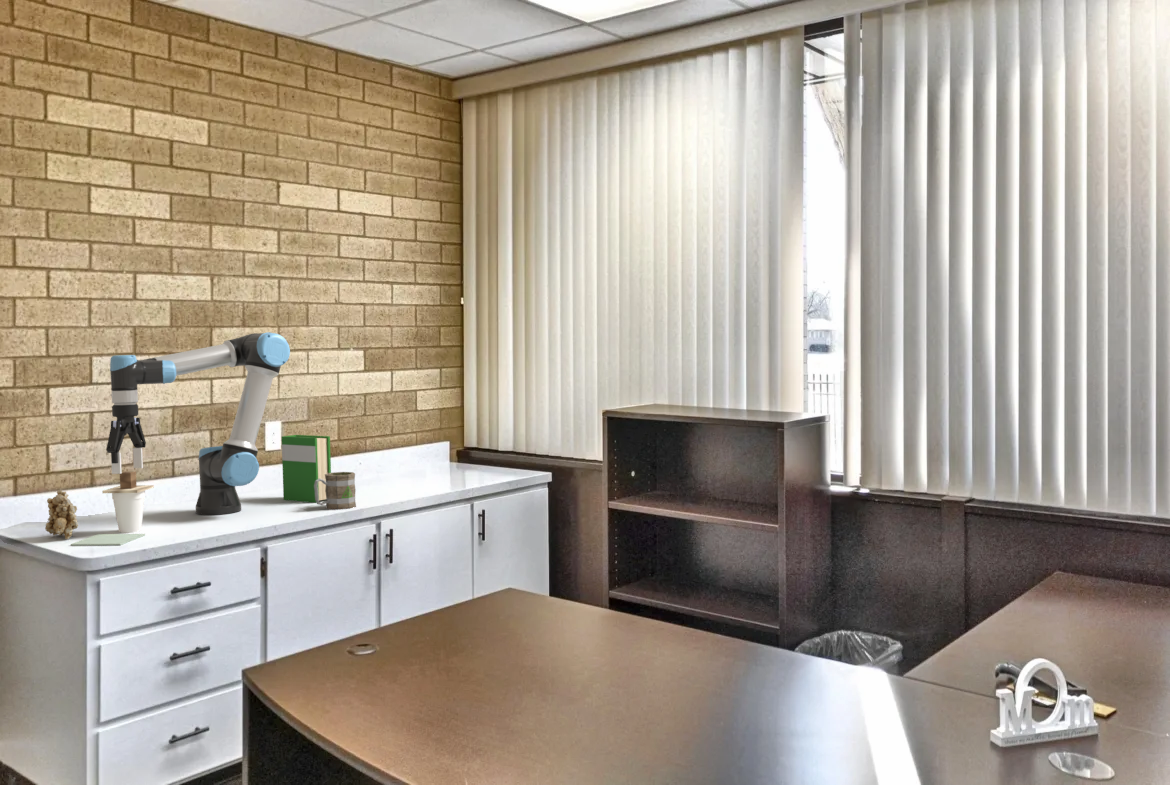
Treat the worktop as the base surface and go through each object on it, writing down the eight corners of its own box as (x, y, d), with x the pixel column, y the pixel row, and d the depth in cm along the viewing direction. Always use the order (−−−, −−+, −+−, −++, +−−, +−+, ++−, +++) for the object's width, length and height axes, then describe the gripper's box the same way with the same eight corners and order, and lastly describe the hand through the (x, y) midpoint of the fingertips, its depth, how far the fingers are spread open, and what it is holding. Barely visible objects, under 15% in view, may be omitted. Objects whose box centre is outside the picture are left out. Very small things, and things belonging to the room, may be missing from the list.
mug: (345, 503, 360) (344, 471, 359) (362, 506, 353) (361, 473, 352) (307, 509, 349) (306, 475, 348) (323, 512, 341) (322, 478, 341)
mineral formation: (68, 533, 311) (66, 486, 310) (87, 538, 302) (85, 489, 302) (41, 537, 305) (39, 489, 304) (59, 542, 296) (57, 492, 295)
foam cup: (133, 534, 307) (131, 492, 307) (107, 533, 309) (105, 492, 308) (152, 528, 317) (151, 488, 316) (127, 527, 318) (125, 488, 318)
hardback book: (331, 500, 369) (329, 436, 368) (317, 503, 363) (315, 438, 361) (298, 497, 378) (296, 434, 377) (283, 499, 372) (281, 436, 370)
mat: (145, 535, 305) (145, 533, 305) (120, 545, 290) (120, 543, 290) (97, 535, 306) (97, 534, 306) (70, 545, 291) (70, 544, 291)
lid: (153, 487, 318) (153, 469, 317) (137, 492, 307) (136, 474, 306) (120, 488, 318) (119, 470, 318) (102, 493, 307) (101, 474, 307)
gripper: (132, 401, 323) (135, 465, 324) (92, 406, 299) (95, 476, 300) (155, 401, 323) (157, 465, 324) (116, 406, 298) (119, 475, 299)
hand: (127, 470), depth 312 cm, fingers open, 13 cm apart
